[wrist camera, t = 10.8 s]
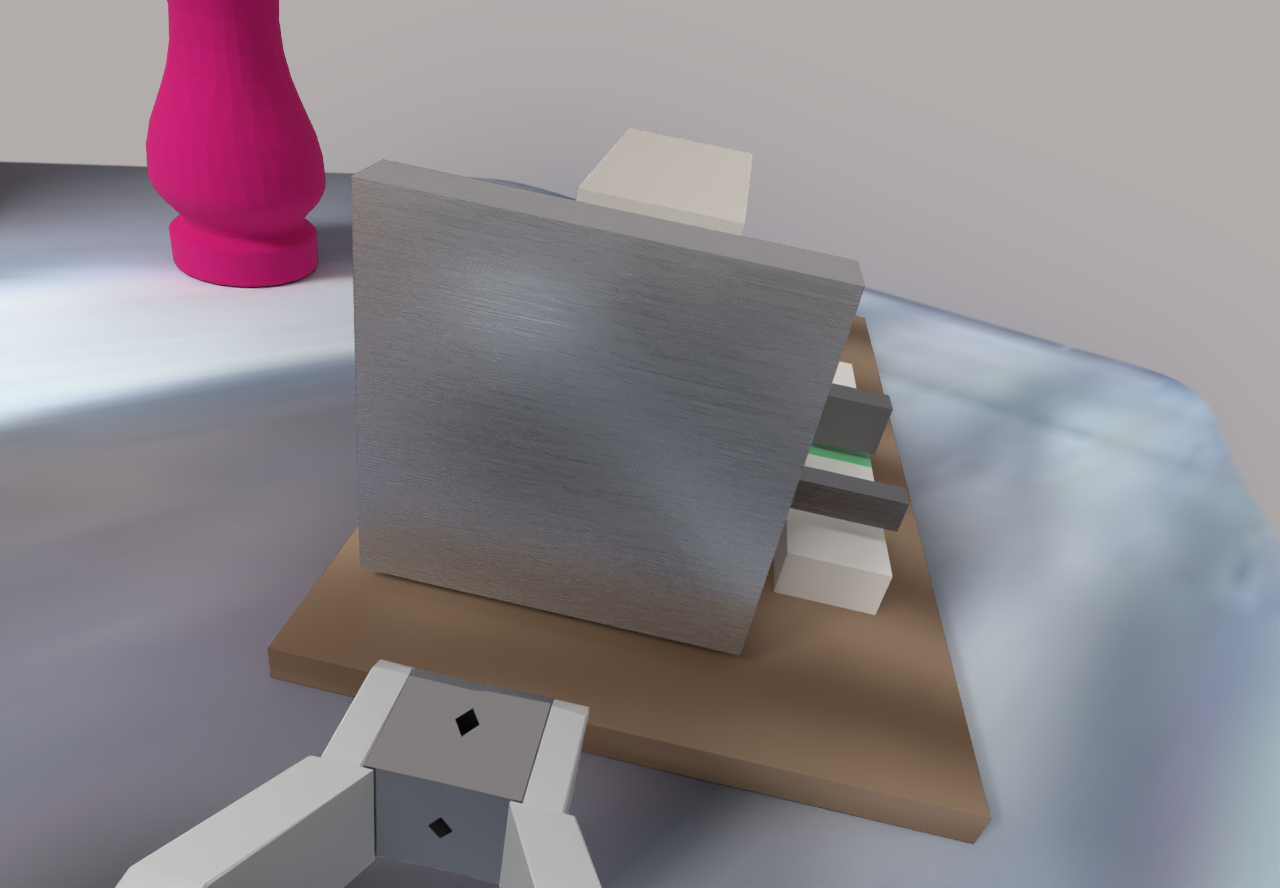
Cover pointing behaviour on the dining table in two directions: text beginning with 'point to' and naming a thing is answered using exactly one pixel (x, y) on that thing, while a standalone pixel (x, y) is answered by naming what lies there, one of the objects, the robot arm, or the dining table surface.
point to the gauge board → (699, 676)
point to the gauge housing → (672, 181)
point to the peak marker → (853, 419)
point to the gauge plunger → (589, 402)
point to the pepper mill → (234, 147)
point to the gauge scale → (833, 540)
